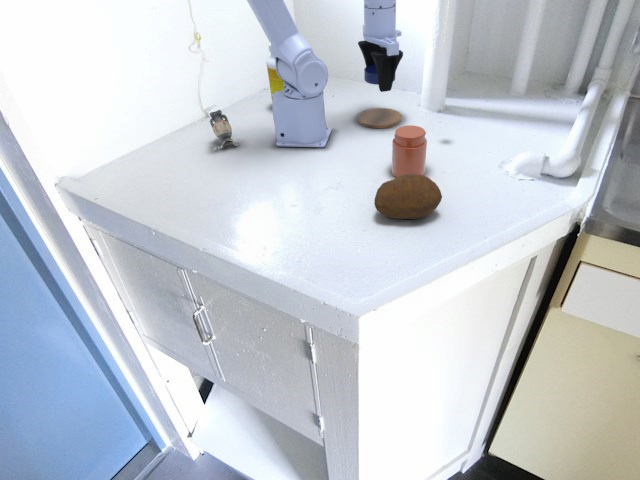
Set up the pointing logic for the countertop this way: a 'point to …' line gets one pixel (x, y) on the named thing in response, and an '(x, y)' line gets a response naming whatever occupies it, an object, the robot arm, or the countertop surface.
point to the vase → (222, 129)
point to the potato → (408, 197)
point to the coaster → (379, 118)
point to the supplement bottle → (273, 75)
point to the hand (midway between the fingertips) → (379, 85)
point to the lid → (371, 75)
